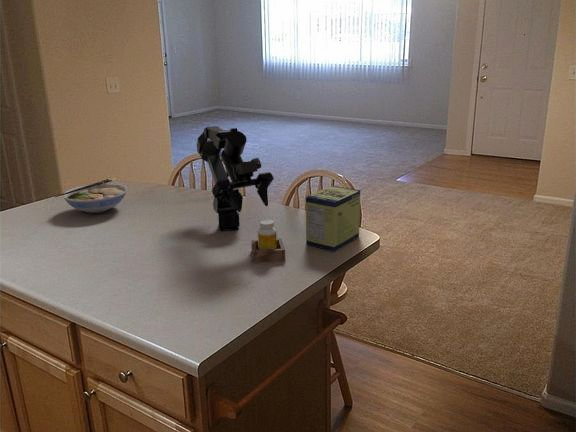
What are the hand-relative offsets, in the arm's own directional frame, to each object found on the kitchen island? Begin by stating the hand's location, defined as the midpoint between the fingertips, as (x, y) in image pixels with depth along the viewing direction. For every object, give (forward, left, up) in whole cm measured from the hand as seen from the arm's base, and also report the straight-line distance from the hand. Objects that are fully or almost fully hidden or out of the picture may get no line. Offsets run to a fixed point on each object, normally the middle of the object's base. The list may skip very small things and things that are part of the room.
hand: (253, 208), depth 156 cm
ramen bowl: (-56, +46, -13) cm, 74 cm away
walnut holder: (+3, -7, -12) cm, 15 cm away
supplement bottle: (+3, -7, -12) cm, 14 cm away
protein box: (+24, +2, -13) cm, 28 cm away
